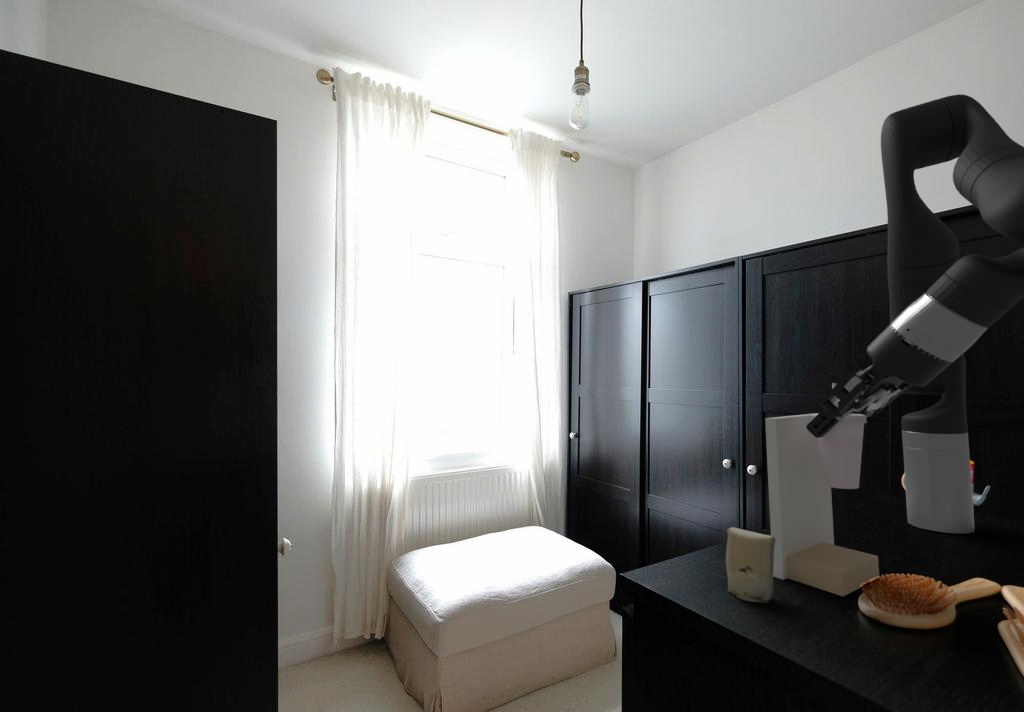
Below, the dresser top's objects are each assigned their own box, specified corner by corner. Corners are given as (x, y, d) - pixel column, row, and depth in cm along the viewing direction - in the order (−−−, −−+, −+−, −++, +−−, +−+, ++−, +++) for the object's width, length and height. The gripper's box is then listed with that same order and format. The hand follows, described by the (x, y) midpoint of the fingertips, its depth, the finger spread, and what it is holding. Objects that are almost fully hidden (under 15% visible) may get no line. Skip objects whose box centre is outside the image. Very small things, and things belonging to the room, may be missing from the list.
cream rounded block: (769, 588, 65) (766, 526, 65) (783, 606, 60) (780, 539, 60) (723, 586, 66) (721, 525, 66) (733, 603, 61) (730, 537, 61)
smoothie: (859, 482, 69) (853, 382, 70) (880, 492, 63) (873, 382, 64) (808, 480, 71) (802, 383, 71) (823, 490, 64) (817, 383, 65)
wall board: (824, 555, 76) (816, 413, 77) (889, 573, 69) (879, 415, 70) (772, 576, 69) (765, 418, 70) (839, 598, 61) (829, 421, 63)
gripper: (919, 322, 65) (829, 409, 75) (869, 317, 58) (776, 414, 67) (975, 360, 61) (872, 447, 70) (929, 359, 53) (819, 457, 62)
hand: (825, 430), depth 69 cm, fingers closed on smoothie, 6 cm apart
